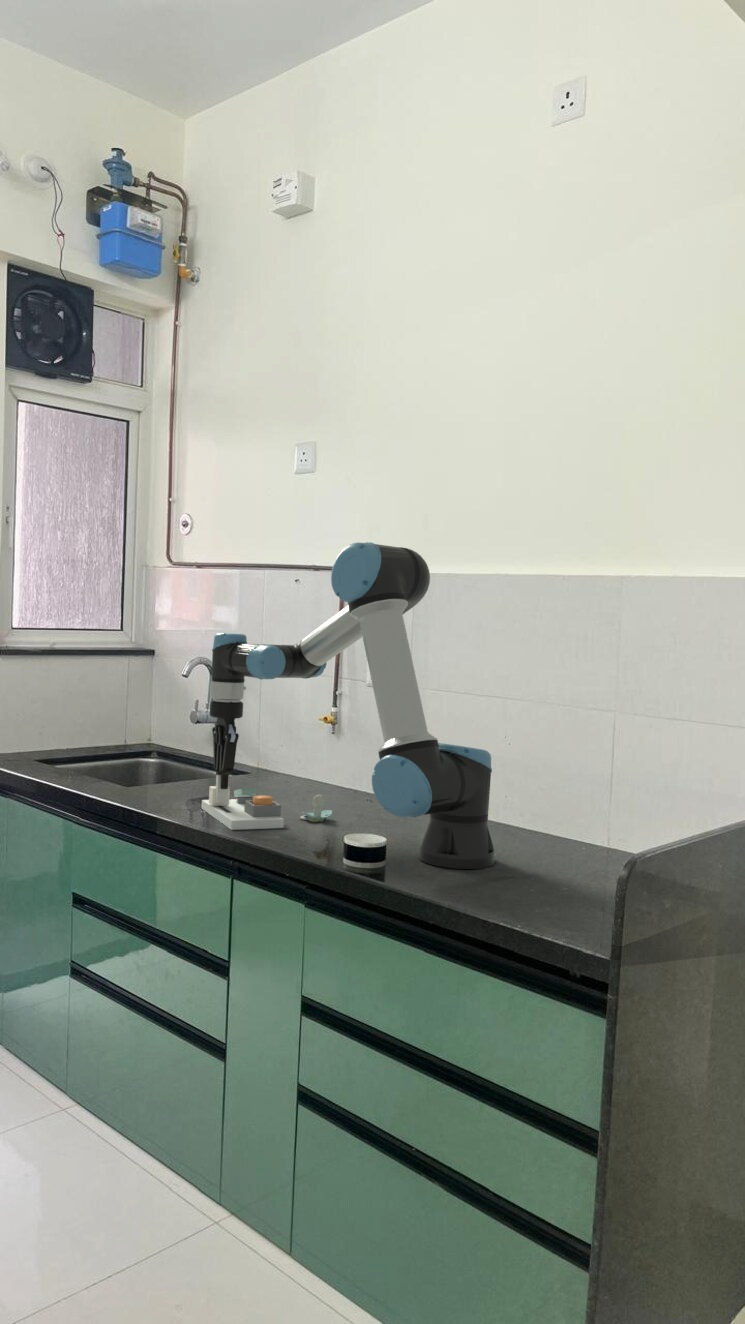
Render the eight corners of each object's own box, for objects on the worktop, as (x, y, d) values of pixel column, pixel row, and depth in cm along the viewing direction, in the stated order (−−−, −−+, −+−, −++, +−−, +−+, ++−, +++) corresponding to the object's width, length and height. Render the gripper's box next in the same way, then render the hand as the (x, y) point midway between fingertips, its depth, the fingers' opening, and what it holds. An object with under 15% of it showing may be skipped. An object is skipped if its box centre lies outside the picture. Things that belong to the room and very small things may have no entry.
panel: (284, 827, 224) (285, 807, 224) (231, 829, 219) (232, 809, 218) (250, 806, 245) (251, 788, 245) (201, 808, 240) (202, 789, 240)
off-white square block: (229, 805, 234) (229, 788, 234) (212, 805, 232) (213, 788, 232) (225, 802, 237) (226, 785, 236) (208, 803, 235) (209, 786, 235)
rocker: (256, 794, 237) (256, 788, 238) (241, 794, 236) (241, 788, 236) (248, 796, 243) (248, 790, 243) (234, 796, 241) (233, 790, 241)
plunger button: (274, 812, 227) (275, 798, 226) (256, 812, 225) (256, 799, 225) (268, 808, 231) (269, 795, 230) (250, 808, 229) (250, 795, 229)
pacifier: (294, 819, 235) (308, 823, 230) (295, 792, 235) (309, 796, 230) (321, 817, 239) (335, 821, 234) (322, 791, 239) (336, 794, 234)
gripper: (251, 703, 227) (245, 807, 228) (234, 697, 239) (229, 796, 240) (219, 702, 224) (213, 808, 225) (203, 697, 236) (198, 797, 237)
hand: (221, 802), depth 232 cm, fingers closed
